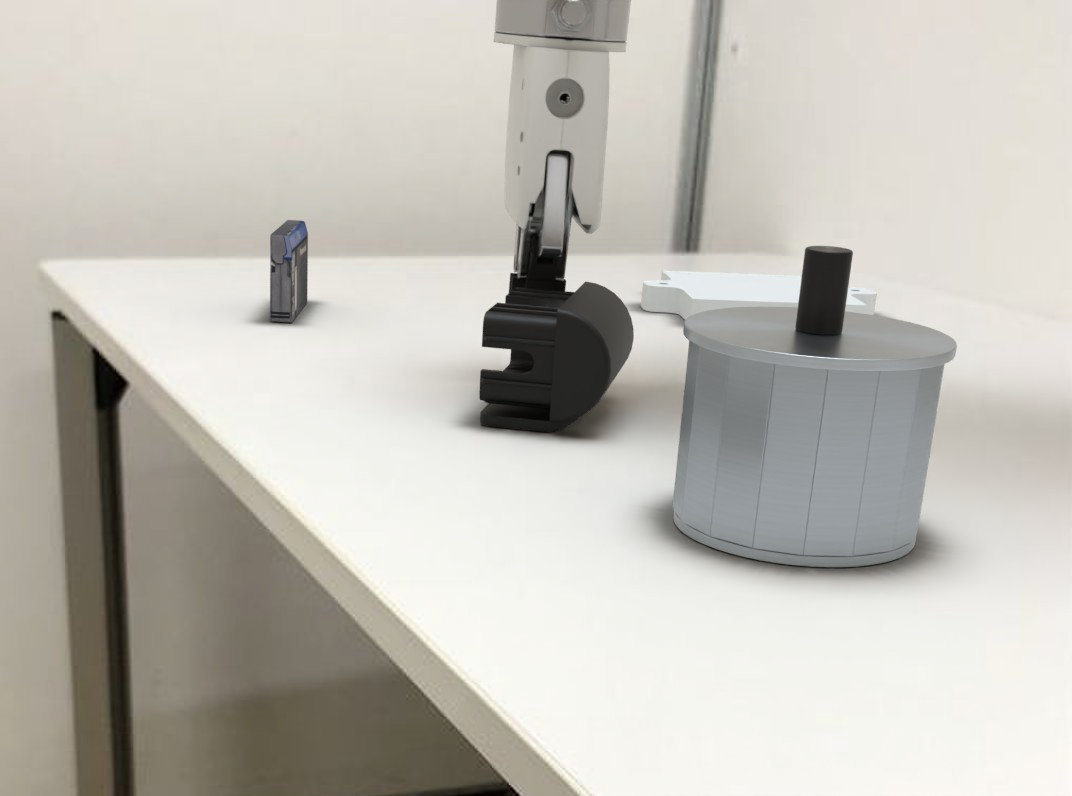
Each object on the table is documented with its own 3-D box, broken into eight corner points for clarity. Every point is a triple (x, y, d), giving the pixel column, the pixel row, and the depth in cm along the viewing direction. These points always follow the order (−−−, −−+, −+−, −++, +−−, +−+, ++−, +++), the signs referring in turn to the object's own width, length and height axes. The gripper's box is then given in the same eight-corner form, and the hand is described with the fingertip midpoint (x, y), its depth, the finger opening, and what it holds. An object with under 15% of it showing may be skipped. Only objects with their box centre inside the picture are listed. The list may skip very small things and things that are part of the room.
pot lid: (901, 333, 76) (916, 234, 75) (994, 390, 66) (1014, 275, 64) (659, 326, 76) (668, 225, 74) (713, 382, 65) (726, 266, 63)
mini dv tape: (291, 323, 113) (292, 235, 111) (270, 322, 113) (270, 234, 111) (307, 302, 121) (308, 220, 119) (287, 301, 121) (287, 219, 119)
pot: (871, 496, 79) (897, 322, 76) (950, 570, 69) (984, 373, 66) (653, 491, 78) (670, 315, 75) (700, 565, 68) (722, 365, 65)
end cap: (604, 440, 87) (615, 314, 84) (475, 427, 88) (482, 303, 86) (628, 400, 96) (638, 284, 93) (511, 388, 97) (518, 275, 95)
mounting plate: (847, 301, 132) (850, 277, 131) (896, 332, 120) (900, 306, 119) (628, 293, 131) (630, 269, 130) (656, 324, 119) (658, 297, 118)
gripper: (649, 29, 84) (611, 375, 91) (608, 21, 98) (577, 322, 105) (507, 18, 84) (479, 367, 91) (485, 12, 98) (462, 315, 105)
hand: (532, 342), depth 98 cm, fingers closed
